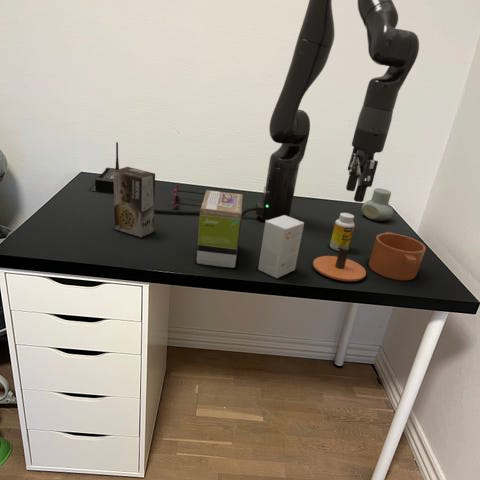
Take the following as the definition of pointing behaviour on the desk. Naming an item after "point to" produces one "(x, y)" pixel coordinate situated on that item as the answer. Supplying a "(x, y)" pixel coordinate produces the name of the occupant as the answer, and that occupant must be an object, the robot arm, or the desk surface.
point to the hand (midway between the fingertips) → (353, 195)
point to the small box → (280, 245)
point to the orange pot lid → (339, 266)
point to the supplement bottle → (342, 231)
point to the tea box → (219, 229)
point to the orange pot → (396, 256)
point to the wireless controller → (107, 178)
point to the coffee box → (134, 201)
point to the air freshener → (378, 206)
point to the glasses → (178, 197)
